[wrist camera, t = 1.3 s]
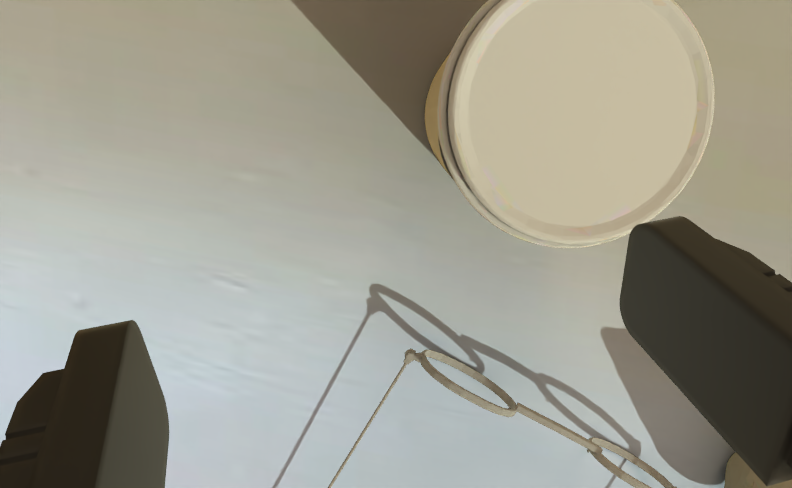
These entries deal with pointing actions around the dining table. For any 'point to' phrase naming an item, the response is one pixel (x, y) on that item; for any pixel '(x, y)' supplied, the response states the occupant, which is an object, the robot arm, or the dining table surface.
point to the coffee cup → (572, 115)
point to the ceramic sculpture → (746, 476)
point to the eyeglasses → (590, 444)
